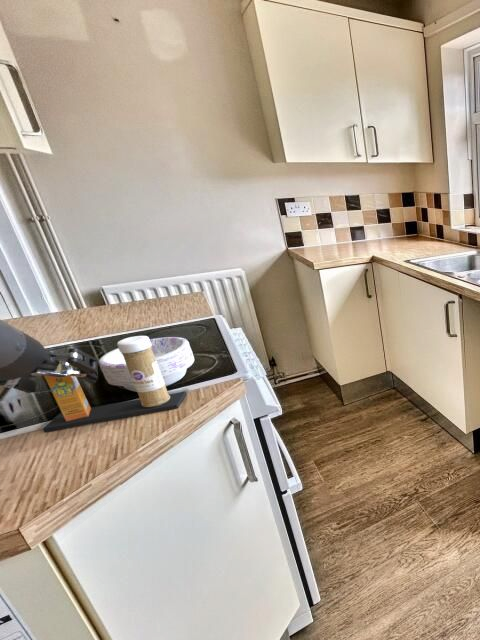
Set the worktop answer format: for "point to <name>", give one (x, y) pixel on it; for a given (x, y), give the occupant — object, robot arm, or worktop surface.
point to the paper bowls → (169, 357)
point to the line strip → (114, 412)
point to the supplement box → (69, 396)
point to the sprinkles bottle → (144, 370)
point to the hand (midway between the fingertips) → (63, 382)
